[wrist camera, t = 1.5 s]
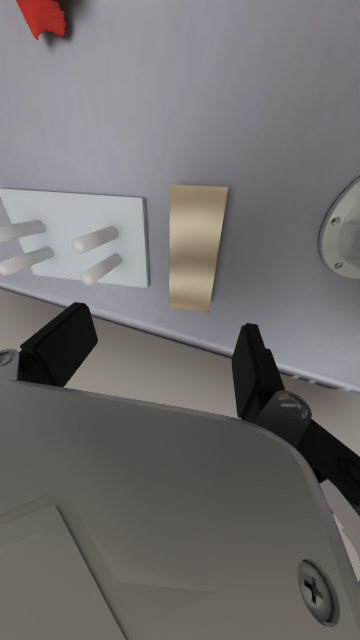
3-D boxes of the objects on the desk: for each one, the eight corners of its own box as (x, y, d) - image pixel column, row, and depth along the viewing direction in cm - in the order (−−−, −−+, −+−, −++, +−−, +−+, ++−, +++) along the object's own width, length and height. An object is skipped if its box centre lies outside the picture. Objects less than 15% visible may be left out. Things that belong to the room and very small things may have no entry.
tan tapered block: (176, 185, 22) (170, 184, 19) (226, 187, 22) (228, 187, 19) (174, 294, 31) (169, 307, 28) (209, 298, 30) (208, 311, 27)
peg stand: (145, 197, 23) (113, 200, 16) (149, 284, 30) (128, 314, 23) (4, 188, 25) (-80, 187, 18) (39, 272, 32) (-12, 295, 25)
